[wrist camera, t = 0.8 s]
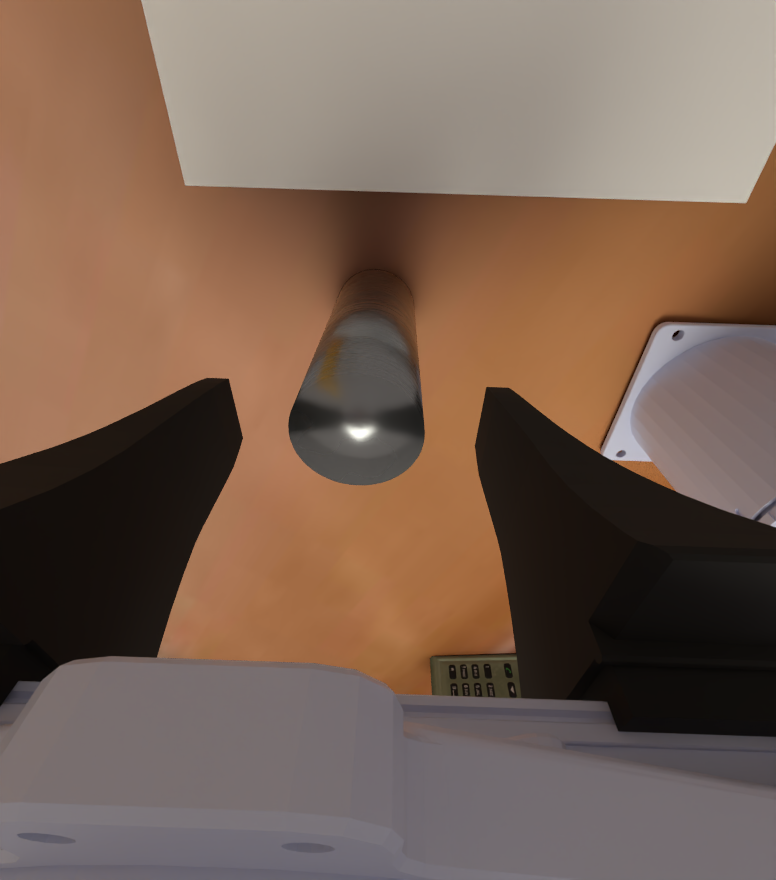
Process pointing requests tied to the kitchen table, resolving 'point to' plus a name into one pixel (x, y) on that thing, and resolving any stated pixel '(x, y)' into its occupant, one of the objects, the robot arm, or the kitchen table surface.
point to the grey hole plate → (472, 95)
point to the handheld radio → (475, 676)
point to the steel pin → (363, 386)
